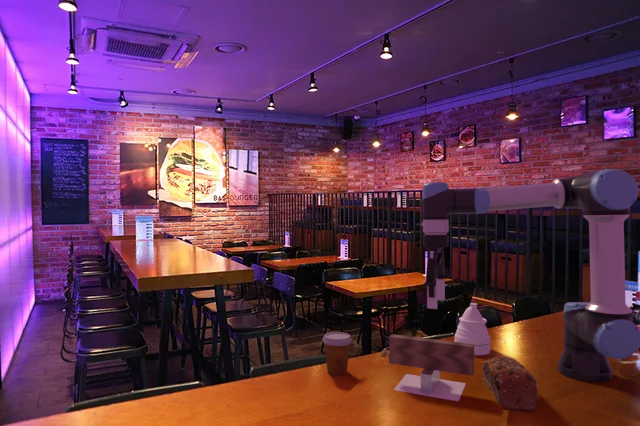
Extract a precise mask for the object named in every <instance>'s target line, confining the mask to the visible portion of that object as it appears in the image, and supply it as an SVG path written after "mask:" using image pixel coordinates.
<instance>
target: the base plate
mask: <svg viewBox="0 0 640 426" xmlns="http://www.w3.org/2000/svg"><path fill="white" fill-rule="evenodd" d="M466 384H467V383H466V382H460V381H453V380H447V379H441V378H440V381H439V382H438V384H437V386H436V388H435V389H434V391H433V393H432V395H429V394H423V393H421V375H416V374H410V373H409V374H408V373H406V374H405V375H404V376H403V377H402V379H401V380H400V381H399V382H398V384H397V385H396V386H395V387H394V389H393V391H398V392H402V393H408V394H415V395H421V396H427V397H431V398H436V399H438V398H439V399H442V400H443V399H444V400H447V401H455V402H459V401H460V399H461V397H462V394H463V392H464V389H465V387H466Z"/></svg>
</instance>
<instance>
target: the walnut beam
mask: <svg viewBox="0 0 640 426" xmlns="http://www.w3.org/2000/svg"><path fill="white" fill-rule="evenodd" d="M388 352H389V356H388V364H391V365H398V366H405V367H410V368H411V367H412V368H418V369H431V370H437V371H440V372H444V373H445V372H446V373H452V374H457V375H458V374H459V375H465V376H471V377H473V376H474V373H475V355H474V344H469V343H461V342H455V341H451V340H450V341H449V340H444V339H443V340H442V339H435V338H427V337H426V338H425V337H419V336H408V335H402V334H401V335H400V334H393V333H392V334H391V335H389V336H388Z"/></svg>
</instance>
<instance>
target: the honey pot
mask: <svg viewBox="0 0 640 426" xmlns="http://www.w3.org/2000/svg"><path fill="white" fill-rule="evenodd" d="M469 305H470V306H469V307H467V308H465V311H464V312H463V314H462V315H461V317H459V318H458V320H459V323H458V325H457V327H456V328H457V329H456V331H455V334H454V342H461V343H469V344H474V356H485V355H489V354H490V353H491V336H490V335H489V331H488V327H487V326H486V324H487V321H488V320H487V319H486V318H484V317H483V316H482V313H480V310H479V309H478V308H477V307H478V303H475V302H470V303H469Z"/></svg>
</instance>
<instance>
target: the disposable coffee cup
mask: <svg viewBox="0 0 640 426" xmlns="http://www.w3.org/2000/svg"><path fill="white" fill-rule="evenodd" d="M352 341H353V339H352V338H351V335H350V334H349V333H346V332H341V331H340V332H337V331H335V332H334V331H333V332H328V333H325V334H324V335H323V338H322V342H323V345H324V353H325V354H324V355H325V360H326V369H327V374H329V375H333V376H343V375H346V374H347V372H348V364H349V357H350V348H351V343H352Z"/></svg>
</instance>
